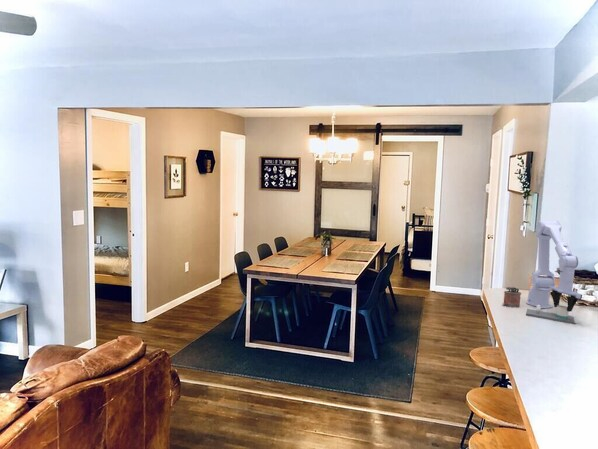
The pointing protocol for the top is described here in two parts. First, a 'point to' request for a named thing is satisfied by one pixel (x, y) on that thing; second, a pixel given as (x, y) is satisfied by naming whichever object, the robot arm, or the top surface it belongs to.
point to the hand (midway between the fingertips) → (562, 309)
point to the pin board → (547, 315)
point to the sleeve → (562, 312)
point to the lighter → (512, 297)
